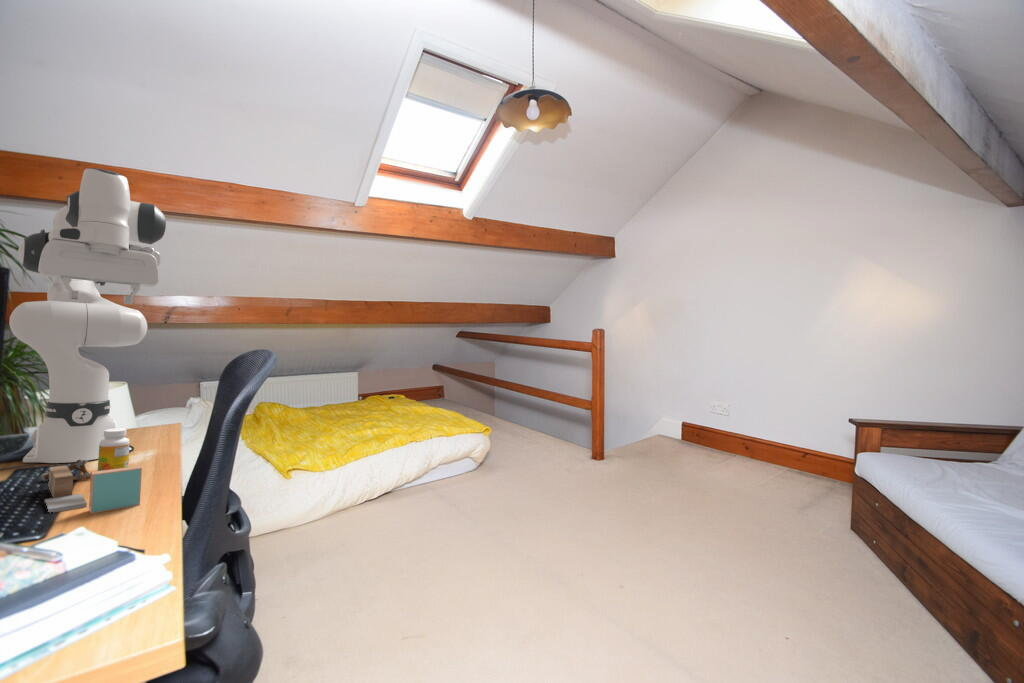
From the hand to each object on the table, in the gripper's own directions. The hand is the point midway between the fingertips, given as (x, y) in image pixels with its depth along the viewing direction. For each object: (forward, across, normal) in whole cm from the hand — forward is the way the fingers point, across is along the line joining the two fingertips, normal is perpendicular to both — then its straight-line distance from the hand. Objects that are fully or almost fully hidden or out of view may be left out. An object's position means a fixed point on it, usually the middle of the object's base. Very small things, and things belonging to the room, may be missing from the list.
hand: (101, 301), depth 105 cm
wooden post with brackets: (+39, +4, -4) cm, 39 cm away
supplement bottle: (+39, -4, -6) cm, 39 cm away
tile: (+41, 0, +22) cm, 47 cm away
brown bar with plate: (+40, +6, +10) cm, 42 cm away
